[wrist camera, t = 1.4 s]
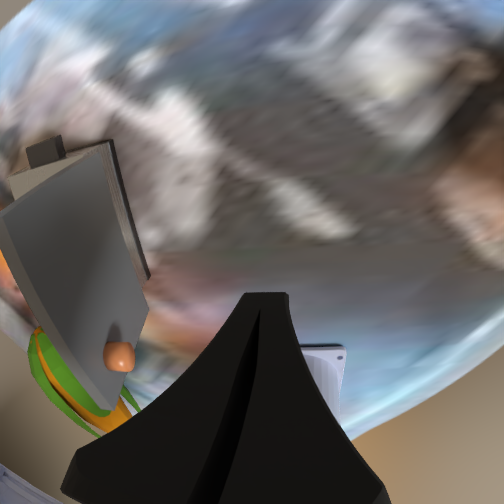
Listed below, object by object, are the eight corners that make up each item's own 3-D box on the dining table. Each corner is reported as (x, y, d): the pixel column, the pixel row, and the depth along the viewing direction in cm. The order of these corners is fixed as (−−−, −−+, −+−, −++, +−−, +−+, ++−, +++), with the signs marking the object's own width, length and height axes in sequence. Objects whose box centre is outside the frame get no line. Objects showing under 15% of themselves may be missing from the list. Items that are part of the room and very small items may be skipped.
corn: (35, 366, 19) (149, 470, 29) (80, 306, 25) (169, 421, 35) (0, 355, 21) (105, 455, 31) (40, 306, 27) (126, 412, 37)
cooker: (155, 290, 23) (139, 319, 20) (82, 288, 24) (63, 312, 21) (108, 118, 16) (77, 129, 13) (31, 144, 17) (1, 158, 15)
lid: (134, 301, 19) (167, 299, 19) (91, 407, 12) (132, 412, 12) (86, 153, 14) (123, 143, 14) (-20, 223, 7) (21, 211, 7)
